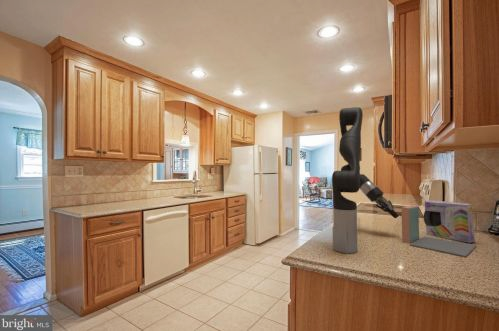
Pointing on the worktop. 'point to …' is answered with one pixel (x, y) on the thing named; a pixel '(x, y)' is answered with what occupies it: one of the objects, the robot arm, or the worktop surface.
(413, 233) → the tile
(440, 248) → the mat
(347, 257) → the worktop surface
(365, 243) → the worktop surface
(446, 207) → the cake pan box
